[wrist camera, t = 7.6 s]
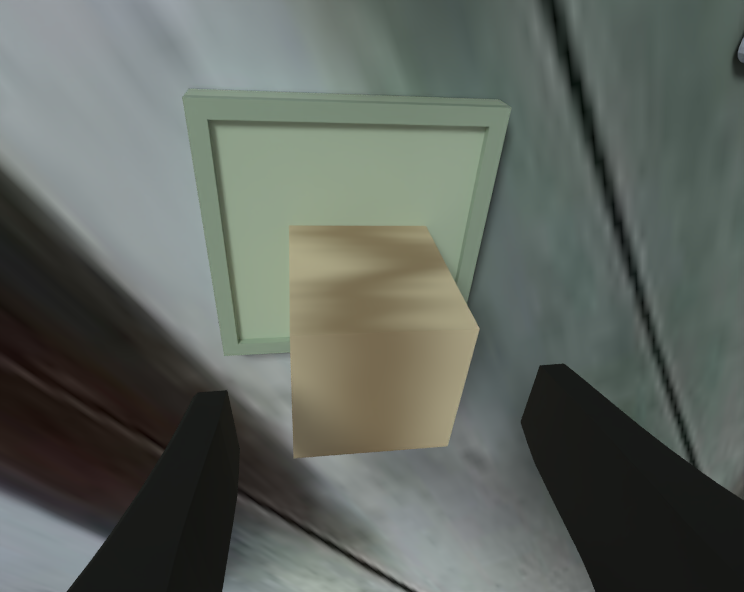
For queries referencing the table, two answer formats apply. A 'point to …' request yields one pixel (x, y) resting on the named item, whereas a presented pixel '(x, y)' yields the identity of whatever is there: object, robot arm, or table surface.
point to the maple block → (374, 340)
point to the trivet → (331, 186)
